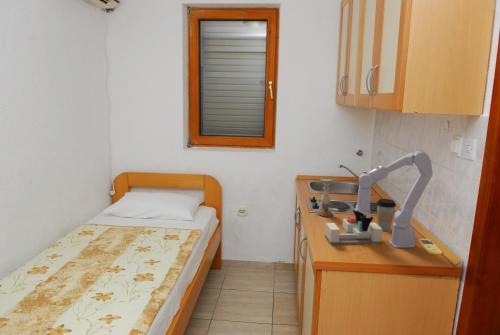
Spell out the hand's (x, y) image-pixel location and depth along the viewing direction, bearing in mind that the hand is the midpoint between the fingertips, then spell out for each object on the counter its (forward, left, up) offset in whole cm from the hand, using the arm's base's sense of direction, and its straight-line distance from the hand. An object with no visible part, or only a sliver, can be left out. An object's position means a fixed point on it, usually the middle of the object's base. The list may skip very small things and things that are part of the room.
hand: (361, 227), depth 185 cm
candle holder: (+7, -39, -6) cm, 40 cm away
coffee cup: (-17, -14, -6) cm, 23 cm away
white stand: (+4, 0, -6) cm, 7 cm away
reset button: (0, -12, -2) cm, 12 cm away
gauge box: (0, -12, -6) cm, 13 cm away
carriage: (0, 0, -4) cm, 4 cm away
